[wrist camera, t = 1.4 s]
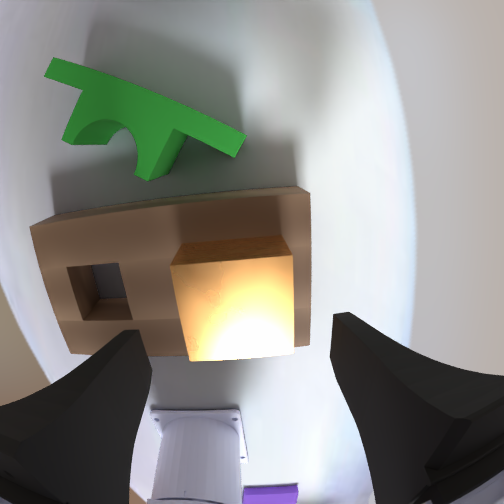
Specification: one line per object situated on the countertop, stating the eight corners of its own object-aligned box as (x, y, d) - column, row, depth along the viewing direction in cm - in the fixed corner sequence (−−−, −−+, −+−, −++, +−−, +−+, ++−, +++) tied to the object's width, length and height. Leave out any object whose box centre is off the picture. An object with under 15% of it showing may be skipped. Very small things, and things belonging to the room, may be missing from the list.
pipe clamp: (65, 125, 15) (23, 122, 11) (90, 73, 14) (52, 56, 10) (214, 196, 17) (206, 211, 13) (244, 140, 16) (247, 134, 12)
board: (300, 319, 20) (309, 345, 17) (86, 330, 19) (70, 353, 17) (297, 186, 17) (309, 193, 14) (54, 215, 17) (29, 226, 14)
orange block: (278, 297, 19) (293, 353, 14) (201, 304, 19) (190, 361, 13) (274, 221, 17) (292, 255, 12) (189, 229, 17) (169, 265, 12)
